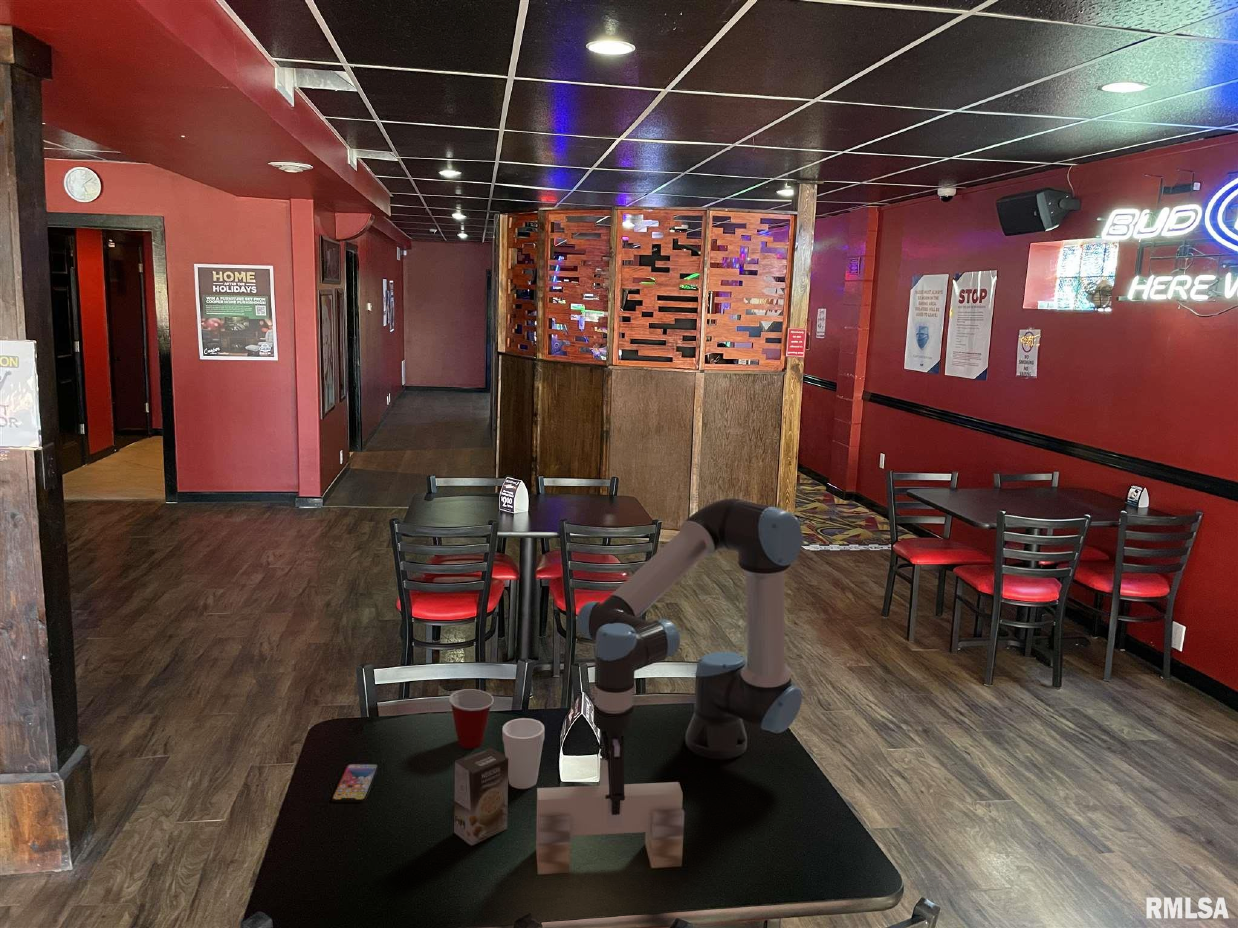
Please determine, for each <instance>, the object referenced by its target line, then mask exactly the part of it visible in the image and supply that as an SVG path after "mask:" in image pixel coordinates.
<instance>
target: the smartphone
mask: <svg viewBox="0 0 1238 928" xmlns="http://www.w3.org/2000/svg"><path fill="white" fill-rule="evenodd" d="M379 769H380V767H379V764H377V763H349V764H347V765H346V766H345V768H344V770H343V772H342V774H341V777H340V779H339V781H338V783H337V785H336V788H335V790H334V792H333V794H332V795H331V796H332V797H331V802H333V803H335V804H337V803H339V804H340V803H344V804H345V803H346V804H347V803H351V804H353V803H357V804H358V803H364V802H366V801H367V799H368V796H369V794H370V791H371V788H372V785H373V784H374V780H375V778H376V776H377V774H378V771H379Z"/></svg>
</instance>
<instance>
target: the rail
mask: <svg viewBox="0 0 1238 928" xmlns="http://www.w3.org/2000/svg"><path fill="white" fill-rule="evenodd" d="M606 795H609V785H600V786H599V785H583V786H582V785H581V786H559V787H557V786H556V787H537V788H536V835H537V838H538V821H539V817H541V816H562V815H570V818H571V820H570V837H575V836H578V837H579V836H596V835H597V836H599V835H614V834H617V835H619V834H633V833H634V834H635V833H636V834H637V833H646V832H652V820H653V811H666V810H683V796H684V795H683V791H682V788H681V785H680V782H679V781H671V782H669V781H668V782H651V783H649V782H648V783H630V784H629V783H627V784H626V783H624V796H625V800H624V801H623V802H622V828H607V805H608V799H606V798H605V796H606Z"/></svg>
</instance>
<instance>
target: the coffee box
mask: <svg viewBox="0 0 1238 928" xmlns="http://www.w3.org/2000/svg"><path fill="white" fill-rule="evenodd" d="M508 759H509V758H507V757H506V756H505V754H503V753H501V752H499V751H498V750H495V749H493V748H492V747H488V748H486V749H483V750H480V751H477V752H475V753H473V754H470V755H468V756H464V757H462V758H460V759H456V760H454V822H453V823H454V827H453V829H454V830H453V832H454V834H455V835H457V836H458V837H459V838H461V839H462V840H463V841H464V842H466V843H467V844H468V845H470V846H474V845H476V844H478V843H481V842H482V841H485V840H487V839H488V838H489V839H490V837H493V836H495V835H497V834H499V833H502V832H503V831H505V830H507V829H508V802H509V800H508V799H509V798H508V797H509V796H508V792H509V791H508V790H509V779H508Z"/></svg>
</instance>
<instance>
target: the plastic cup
mask: <svg viewBox="0 0 1238 928" xmlns="http://www.w3.org/2000/svg"><path fill="white" fill-rule="evenodd" d="M448 700H449V704H450V706H451V711H452V715H453V716H452V717H453V721H454V727H455V731H456V737H457V742H458V744H459V745H458V746H460V747H461V748H463V749H469V750H470V749H476V748H479V747H481V745H482V744H483V741H484V736H485V731H486V729H487V723H488V719H489V712H490V710H491V707H492V706H493V704H494V701H495V699H494V696H493V695H492V694H490V693H489V692H487V691H484V690H481V689H474V688H469V689H468V688H467V689H465V688H464V689H460V690H456V691H454V692H452V693H451V694H450V695H449V697H448Z"/></svg>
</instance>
